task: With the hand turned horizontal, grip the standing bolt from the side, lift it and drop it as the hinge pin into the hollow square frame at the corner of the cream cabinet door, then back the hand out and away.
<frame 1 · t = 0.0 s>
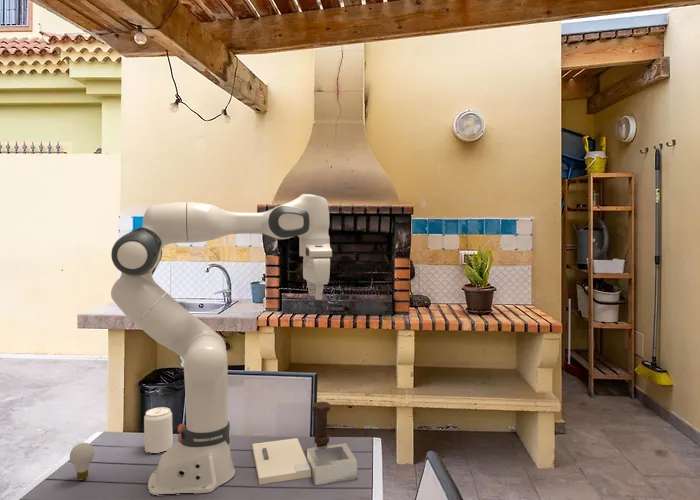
hand: (315, 297, 139), 48 cm above the table, tool pointing down, fingers open, 8 cm apart
cabinet door: (280, 462, 140), on the table
hollow square frame: (331, 472, 134), on the table
bolt: (322, 454, 145), on the table
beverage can: (158, 450, 149), on the table
light bulb: (82, 480, 131), on the table
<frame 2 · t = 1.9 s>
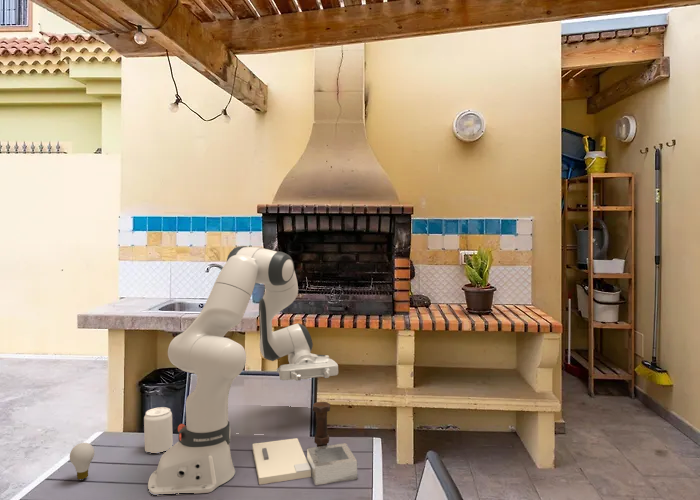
hand: (312, 376, 157), 20 cm above the table, tool horizontal, fingers open, 8 cm apart
nothing on the table moved.
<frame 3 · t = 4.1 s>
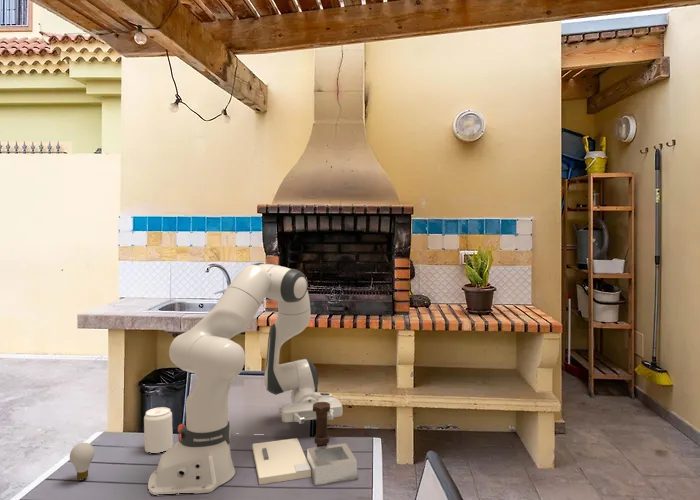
hand: (316, 419, 151), 8 cm above the table, tool horizontal, fingers open, 8 cm apart
nothing on the table moved.
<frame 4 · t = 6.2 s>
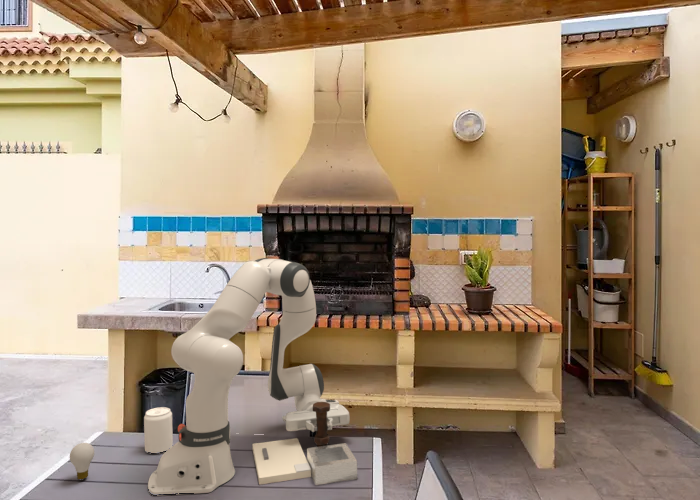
hand: (322, 428, 144), 8 cm above the table, tool horizontal, fingers closed on bolt, 3 cm apart
bolt: (322, 454, 145), on the table, touching gripper
everything else where it was.
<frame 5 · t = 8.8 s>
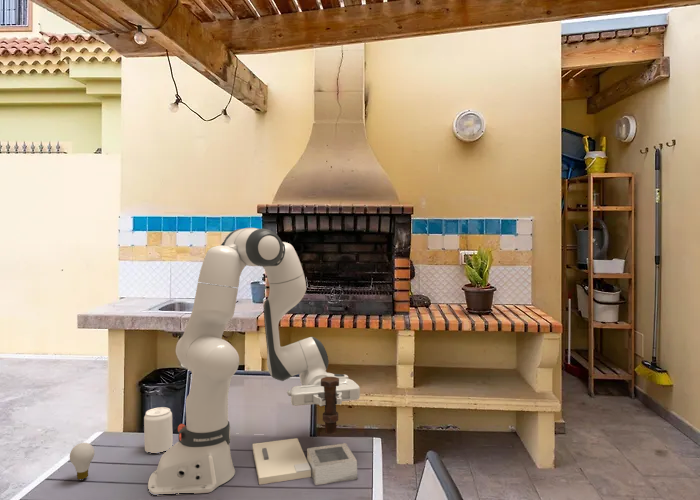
hand: (331, 402, 132), 20 cm above the table, tool horizontal, fingers closed on bolt, 3 cm apart
bolt: (330, 433, 133), point 11 cm above the table, touching gripper
everything else where it was.
when the fingers open (9 cm above the table, at t = 11.5 s): bolt stays where it is, resting in hollow square frame.
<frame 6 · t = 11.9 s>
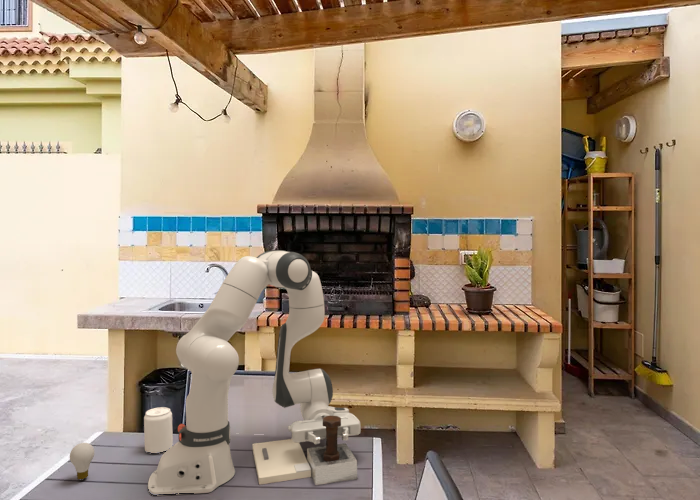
hand: (331, 439, 132), 9 cm above the table, tool horizontal, fingers open, 7 cm apart
bolt: (331, 472, 133), resting in hollow square frame
everything else where it was.
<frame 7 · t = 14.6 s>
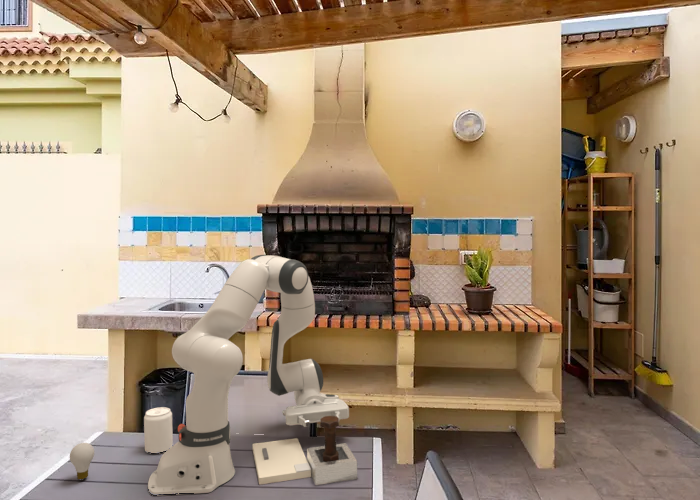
hand: (322, 422, 145), 10 cm above the table, tool horizontal, fingers open, 8 cm apart
nothing on the table moved.
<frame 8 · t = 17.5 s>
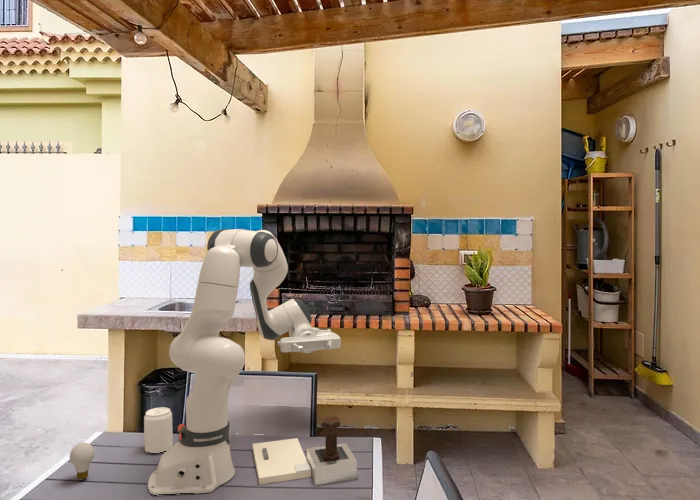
hand: (314, 348, 153), 30 cm above the table, tool horizontal, fingers open, 8 cm apart
nothing on the table moved.
at the end: bolt 0.2 cm off-centre on the hollow square frame, point 0.0 cm above the hollow square frame's base; bolt tilted 1°; the gripper is holding nothing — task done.
